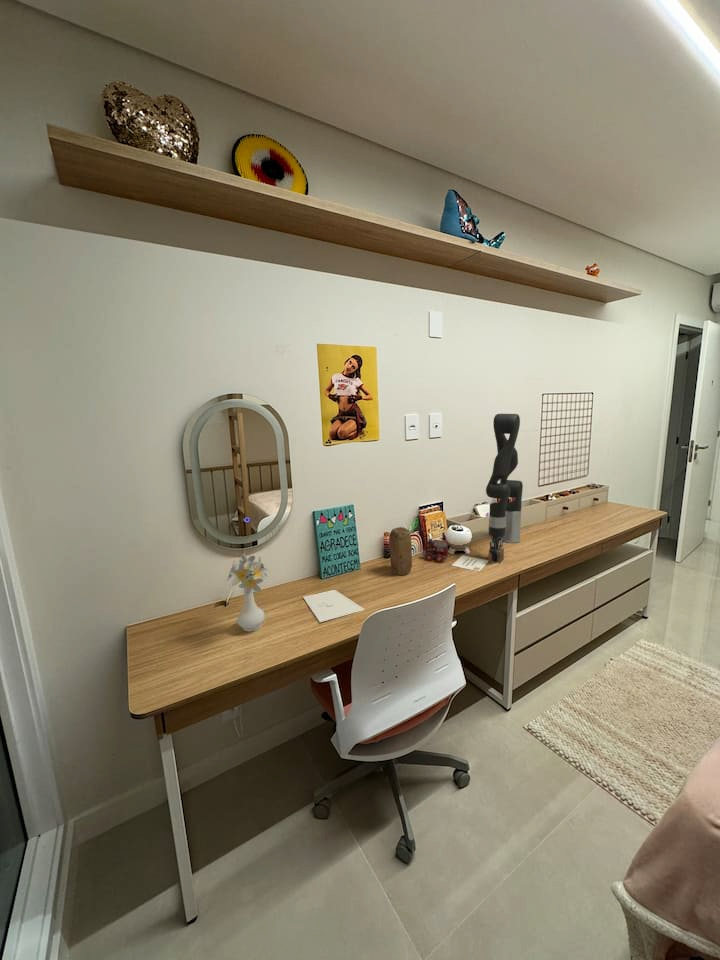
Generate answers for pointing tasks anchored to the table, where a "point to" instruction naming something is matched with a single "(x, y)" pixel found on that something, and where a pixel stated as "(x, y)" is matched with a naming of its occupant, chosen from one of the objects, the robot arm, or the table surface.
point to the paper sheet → (331, 605)
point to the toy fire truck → (436, 550)
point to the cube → (498, 555)
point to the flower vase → (249, 591)
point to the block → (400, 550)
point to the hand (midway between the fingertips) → (496, 558)
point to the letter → (470, 563)
